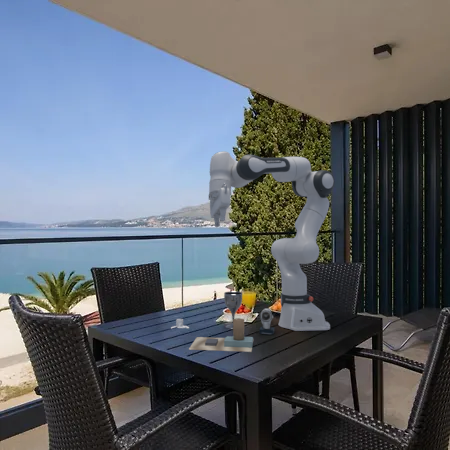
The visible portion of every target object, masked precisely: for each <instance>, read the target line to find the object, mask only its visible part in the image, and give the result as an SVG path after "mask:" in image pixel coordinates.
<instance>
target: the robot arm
mask: <svg viewBox="0 0 450 450" xmlns="http://www.w3.org/2000/svg"><path fill="white" fill-rule="evenodd" d="M264 174H267V175H268V174H271V176H272V178H273V179H274V180H275V181H276V182H280V183H288V182H289V183H290V182H291V189H292V191H293V193H294V194H295V196H297V197H301V198H306V201H305V205H304V206H303V208H302V209H301V211H300V213H299V215H298V217H297V219H296V220H295V223H294V228H295V229H296V234H295V237H291V238H290V237H283V238H280V239H276V240H274V241H273V243H272V244H271V248H270V252H271V254H272V255H271V256H272V257H273V258H274V259H275V260H276V263H277V266H278V268H279V272H280V276H281V294H280V306H281V310H280V317H279V321H278V326H279V327H281V328H285V329H289V330H292V331H293V332H294V331H295V332H300V331H301V332H302V331H303V332H304V331H305V332H307V331H328V330H329V331H330V330H331V324H330V322H328V321H326V319H325V318H326V317H325V314H324V312H323V310H321V309H320V308H319V307H317V306H316V305H315V303H312V302H313V301H314V297H313V296H311V295H310V294H308V281H307V280H308V278H307V275H306V273H304V271H303V269H302V267H301V265H308V264H312V263H314V262H316V261H317V260H318V258H319V255H320V248H319V245H318V244H317V237H318V235H319V231H320V229H321V228H322V225H323V223H324V221H325V219H326V217H327V214H328V211H329V207H330V200H329V197H330V195H332V191H333V189H334V187H335V186H334V185H335V178H334V176H333V173H332V172H331V171H330V170H329V171H328V170H325V169H324V170H323V169H321V170H318V171H317V170H315V171H312V165H311V162H310V161H309V159H308V158H306V157H302V156H284V157H261V156H258V155H254V154H245V155H243V156H242V157H241V158H240V159H239V160H238V161H237V160H235V159H234V158H233V157H232V156H231V153H230V152H228V151H218V152H215V153H213V155H212V156H211V158H210V164H209V177H210V179H209V183H208V184H209V188H208V192H209V193H208V201H209V212H210V218H212V219H213V221H214V227H216V228H219V227H220V224H221V222H224V221H225V220H226V213H227V209H228V208H229V207H230V205H231V196H232V188H236V189H240V188H244V187H245V186H247V185H248V184H249V183H251V182H253V181H254V180H256V179H258V178H259V177H261V176H262V175H264ZM300 264H301V265H300Z"/></svg>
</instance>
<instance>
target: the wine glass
mask: <svg viewBox="0 0 450 450" xmlns="http://www.w3.org/2000/svg"><path fill="white" fill-rule="evenodd" d="M223 294H224V304H225V307H226V308H227V309H228V310H229V312H230V313H231V318H232V323H231V324H227V325H225V328H226V329H229V330H233V319H235V315H236V313H237V311H238V310H239V308H240V307H241V306H242V301H243V292H242V291H236V290H235V291H233V290H232V291H231V290H230V291H225V292H224V293H223Z"/></svg>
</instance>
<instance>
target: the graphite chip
mask: <svg viewBox="0 0 450 450" xmlns="http://www.w3.org/2000/svg"><path fill="white" fill-rule="evenodd" d="M217 343H218V339H207V340H206V342H205V345H206V346H216V345H217Z"/></svg>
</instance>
